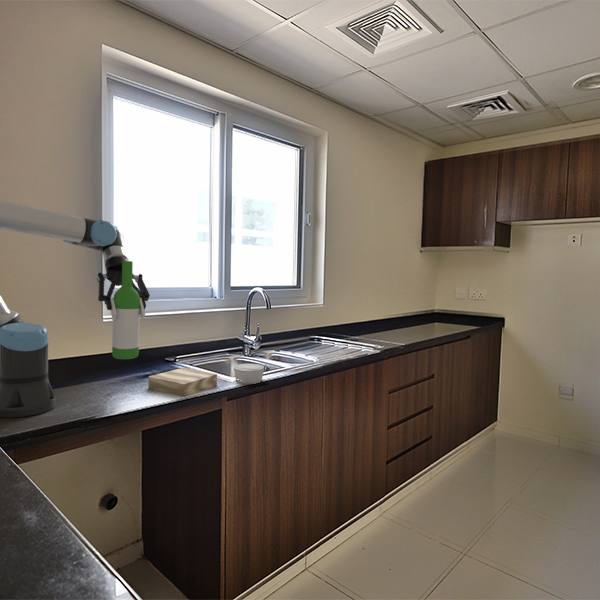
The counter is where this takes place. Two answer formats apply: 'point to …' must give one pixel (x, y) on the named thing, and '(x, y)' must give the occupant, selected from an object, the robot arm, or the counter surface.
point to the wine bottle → (126, 317)
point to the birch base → (182, 381)
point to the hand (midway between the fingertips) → (129, 316)
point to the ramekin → (249, 373)
